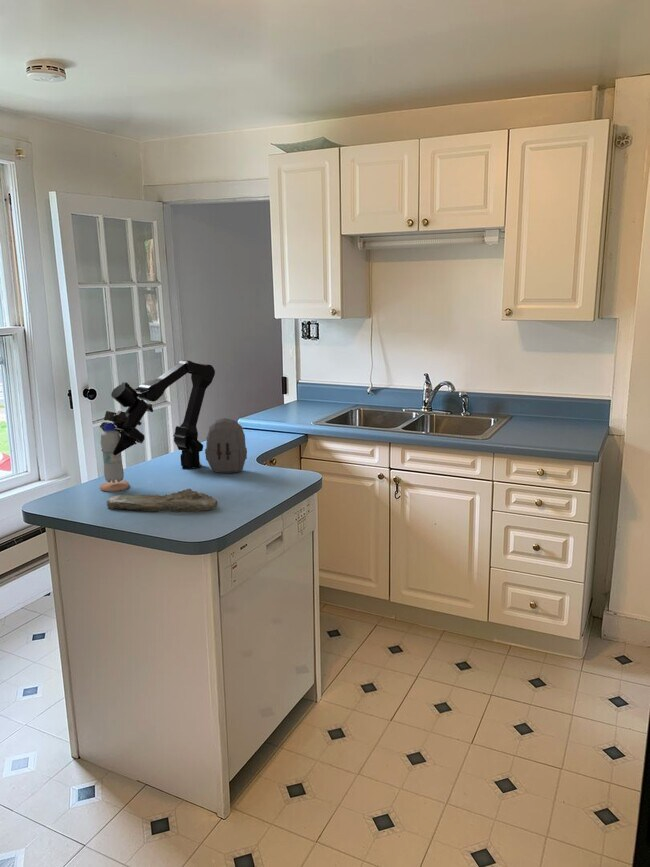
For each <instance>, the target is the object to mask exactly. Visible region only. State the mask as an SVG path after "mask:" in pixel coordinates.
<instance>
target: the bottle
mask: <svg viewBox="0 0 650 867" xmlns="http://www.w3.org/2000/svg"><path fill="white" fill-rule="evenodd" d="M104 431H105V432H104ZM104 431H102V432H101V433H100V445H101V446H100V447H101V451H102V450H103V452H102V458H103V476H104V480H105V482H108V483H110V482H111V481H112V483H115V481H117V482H120V481H124V477H125V474H124V473H125V472H124V465H123V459H122V458H123V457H122V456H123V455H122V452H120V453H119V454H117V455H114V454H113V452H114V450H115V448H116V446H117V444H118V443H119V441H120V433H119V432H118V431H115V426H114V424H113V422H110V423H108V424H105V425H104Z"/></svg>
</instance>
